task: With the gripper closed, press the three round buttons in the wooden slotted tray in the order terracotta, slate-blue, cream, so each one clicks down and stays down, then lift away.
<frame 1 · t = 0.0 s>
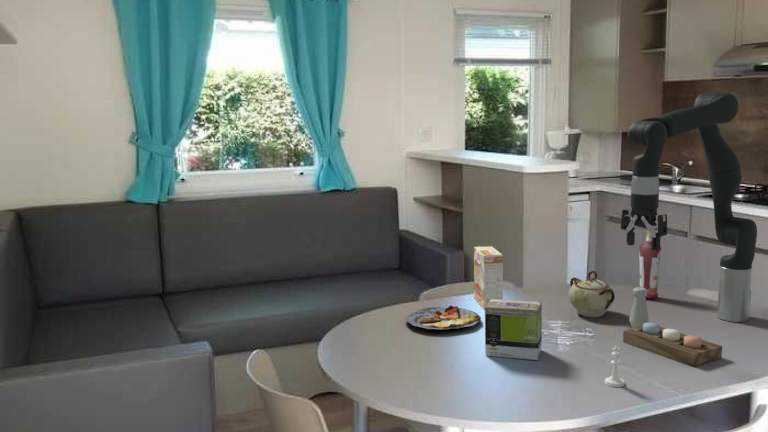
hand: (642, 247, 202), 29 cm above the table, tool pointing down, fingers open, 8 cm apart
liquor: (648, 298, 254), on the table
wooden slotted tray: (670, 349, 202), on the table
salt shaker: (638, 328, 221), on the table
tea box: (513, 353, 202), on the table
sugar bowl: (590, 314, 237), on the table
slate button: (651, 329, 207), point 4 cm above the table, slide at 0.0 cm
coffeecake box: (488, 304, 251), on the table
food plate: (442, 324, 231), on the table
cream button: (671, 336, 201), point 4 cm above the table, slide at 0.0 cm
chess piece: (614, 384, 179), on the table
terracotta button: (692, 343, 195), point 4 cm above the table, slide at 0.0 cm
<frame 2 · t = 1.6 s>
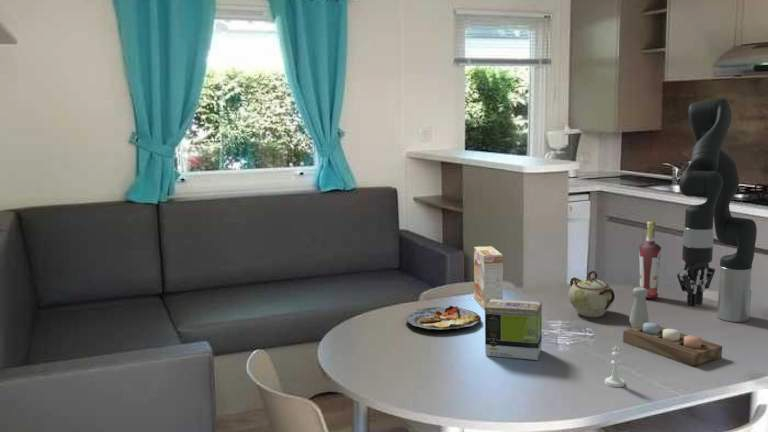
hand: (694, 305, 194), 15 cm above the table, tool pointing down, fingers closed
nothing on the table moved.
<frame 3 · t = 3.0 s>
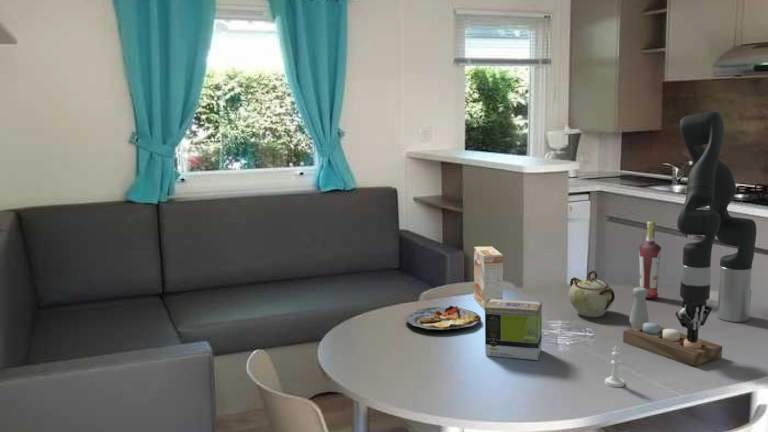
hand: (692, 341, 195), 5 cm above the table, tool pointing down, fingers closed
terracotta button: (692, 346, 195), point 3 cm above the table, slide at 1.0 cm, touching gripper
everything else where it was.
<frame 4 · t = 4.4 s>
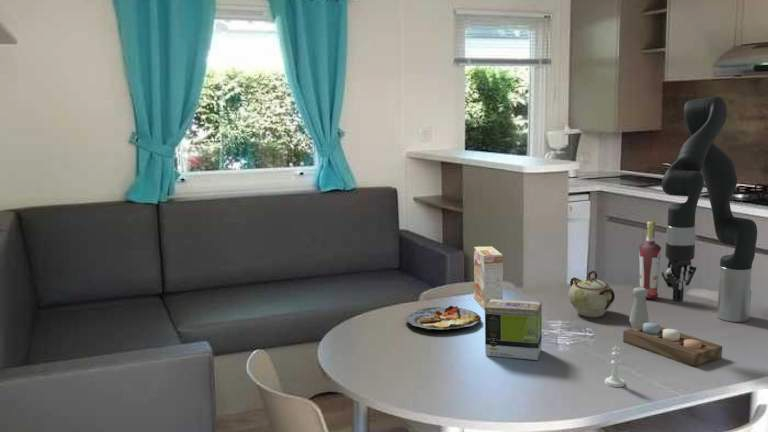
hand: (677, 301, 199), 15 cm above the table, tool pointing down, fingers closed
terracotta button: (692, 347, 196), point 3 cm above the table, slide at 1.1 cm
everything else where it was.
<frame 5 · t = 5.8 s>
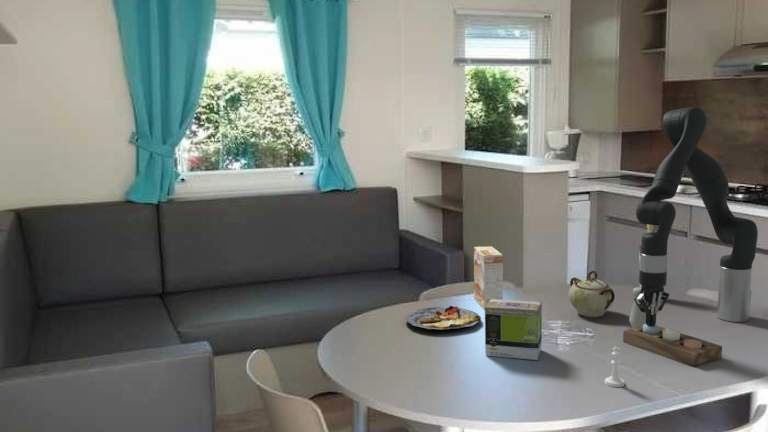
hand: (650, 325, 207), 5 cm above the table, tool pointing down, fingers closed
slate button: (650, 330, 207), point 4 cm above the table, slide at 0.3 cm, touching gripper
everything else where it was.
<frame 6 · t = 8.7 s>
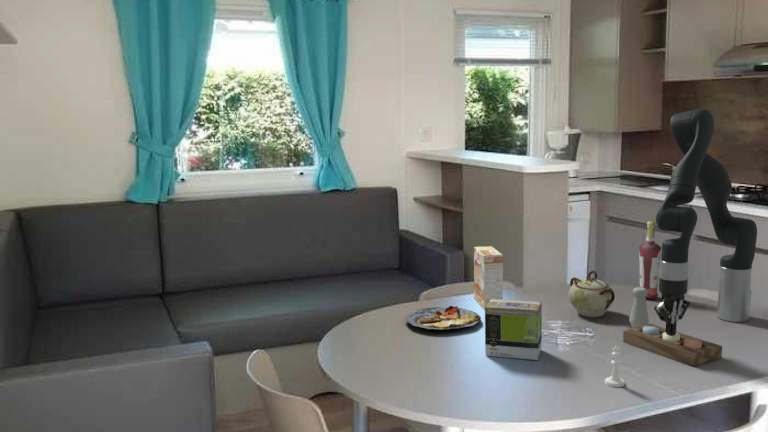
hand: (670, 334, 201), 4 cm above the table, tool pointing down, fingers closed
slate button: (650, 333, 207), point 3 cm above the table, slide at 1.1 cm
cream button: (671, 339, 201), point 3 cm above the table, slide at 1.0 cm, touching gripper
everything else where it was.
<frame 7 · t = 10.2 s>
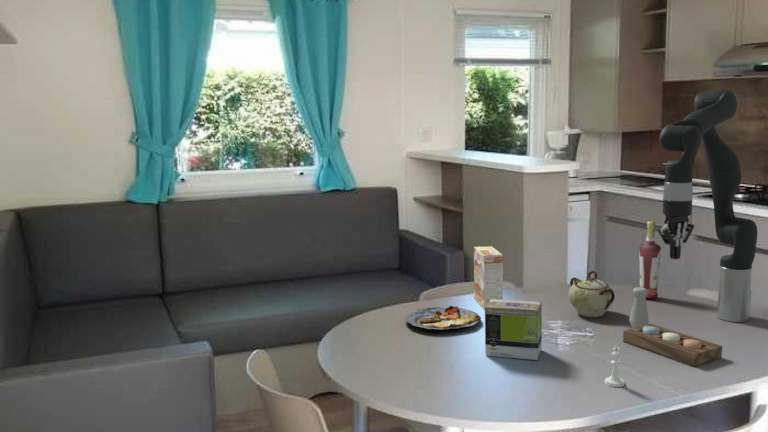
hand: (674, 258, 198), 27 cm above the table, tool pointing down, fingers closed
cream button: (671, 340, 201), point 3 cm above the table, slide at 1.1 cm
everything else where it was.
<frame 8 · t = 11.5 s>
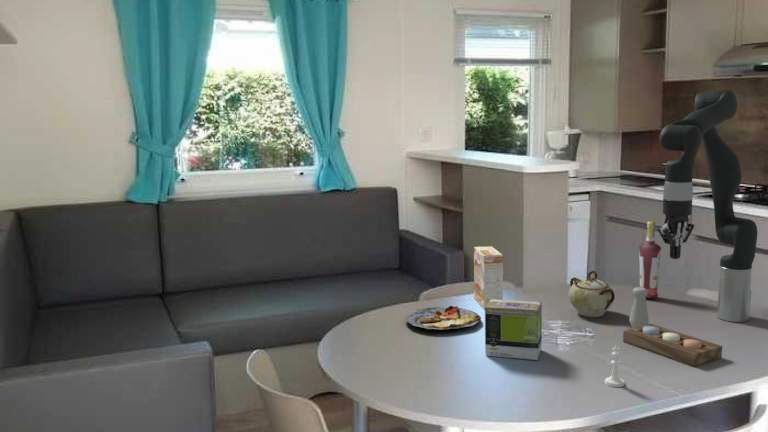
hand: (674, 258, 198), 27 cm above the table, tool pointing down, fingers closed
nothing on the table moved.
at the end: terracotta button slide at 1.1 cm; slate button slide at 1.1 cm; cream button slide at 1.1 cm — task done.
